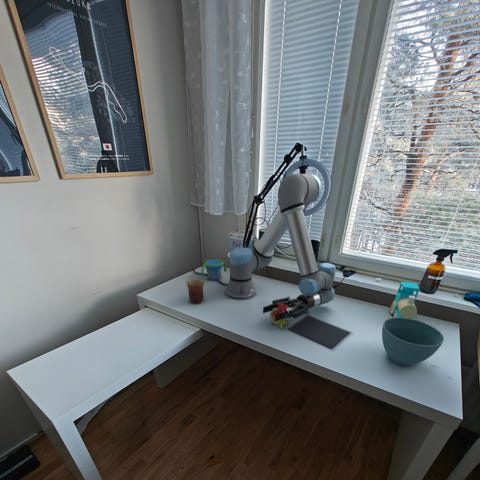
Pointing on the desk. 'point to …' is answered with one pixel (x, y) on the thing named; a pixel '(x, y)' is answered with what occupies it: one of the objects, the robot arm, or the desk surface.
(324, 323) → the mat
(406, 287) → the toy train
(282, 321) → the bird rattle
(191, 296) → the mug
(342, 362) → the desk surface
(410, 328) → the teal green bowl
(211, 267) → the snack cup
